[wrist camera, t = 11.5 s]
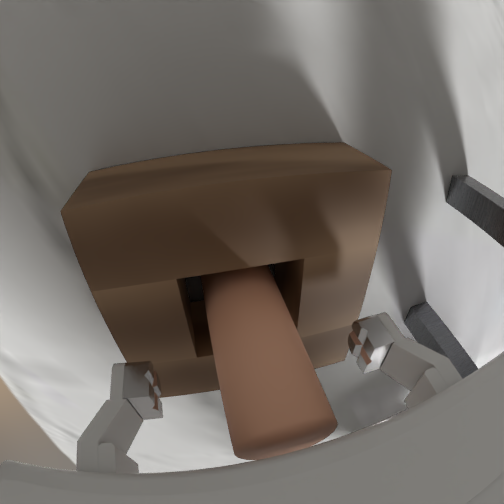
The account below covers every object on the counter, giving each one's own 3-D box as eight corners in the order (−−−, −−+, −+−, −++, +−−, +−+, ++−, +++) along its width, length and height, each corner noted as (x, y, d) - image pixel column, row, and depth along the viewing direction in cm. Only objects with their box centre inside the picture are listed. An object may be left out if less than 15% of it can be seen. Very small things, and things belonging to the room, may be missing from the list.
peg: (261, 228, 15) (348, 405, 7) (262, 280, 17) (327, 443, 9) (194, 238, 15) (229, 436, 7) (203, 289, 17) (238, 465, 9)
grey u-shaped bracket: (432, 315, 25) (504, 417, 15) (385, 332, 24) (458, 454, 14) (484, 169, 17) (615, 273, 6) (435, 168, 16) (601, 303, 5)
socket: (321, 316, 20) (344, 360, 17) (148, 347, 19) (149, 398, 15) (343, 142, 14) (391, 169, 10) (89, 171, 12) (60, 211, 8)
